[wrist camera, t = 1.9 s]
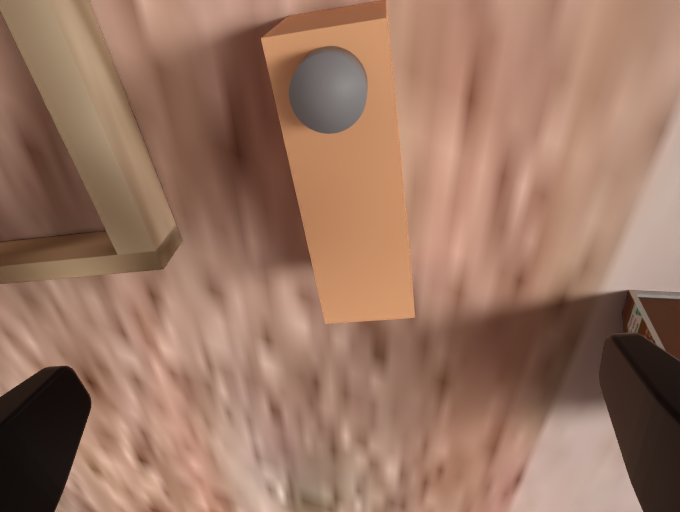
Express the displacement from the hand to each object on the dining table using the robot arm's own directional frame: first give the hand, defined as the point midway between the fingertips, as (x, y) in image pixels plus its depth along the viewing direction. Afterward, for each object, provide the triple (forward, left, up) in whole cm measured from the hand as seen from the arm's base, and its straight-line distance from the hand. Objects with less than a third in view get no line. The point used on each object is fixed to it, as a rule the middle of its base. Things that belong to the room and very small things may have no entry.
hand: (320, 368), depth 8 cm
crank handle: (0, 0, -11) cm, 11 cm away
